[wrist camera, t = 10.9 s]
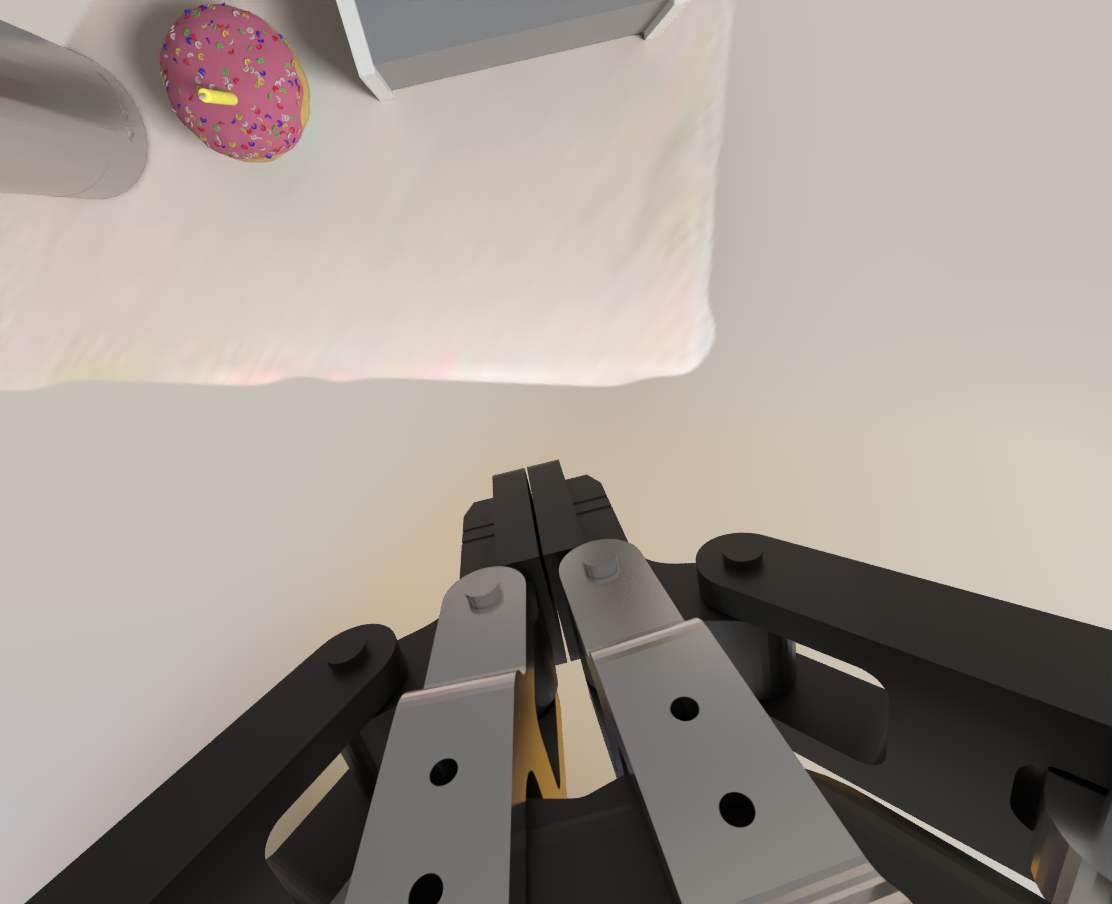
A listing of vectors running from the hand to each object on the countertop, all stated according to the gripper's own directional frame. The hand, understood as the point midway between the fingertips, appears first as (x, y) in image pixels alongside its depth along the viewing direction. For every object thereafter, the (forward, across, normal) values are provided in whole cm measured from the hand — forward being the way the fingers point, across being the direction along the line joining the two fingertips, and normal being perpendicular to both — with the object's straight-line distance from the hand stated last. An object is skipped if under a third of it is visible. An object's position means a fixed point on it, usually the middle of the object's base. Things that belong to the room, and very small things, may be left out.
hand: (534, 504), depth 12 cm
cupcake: (+37, +13, -17) cm, 43 cm away
